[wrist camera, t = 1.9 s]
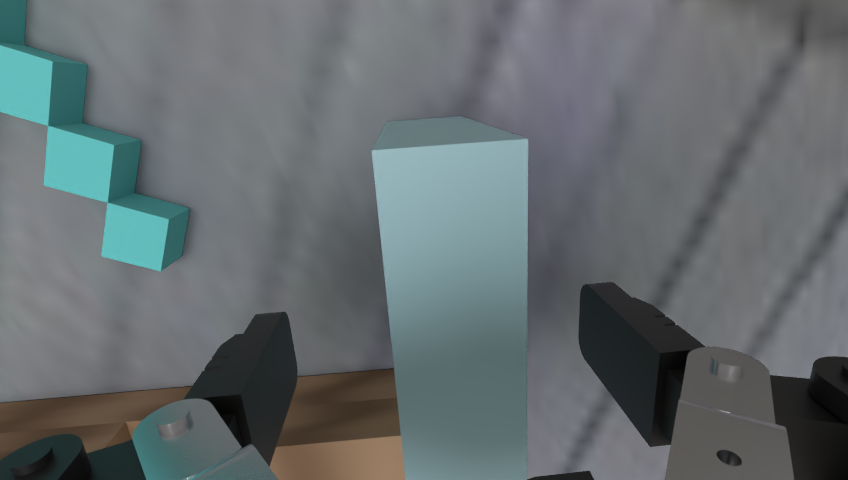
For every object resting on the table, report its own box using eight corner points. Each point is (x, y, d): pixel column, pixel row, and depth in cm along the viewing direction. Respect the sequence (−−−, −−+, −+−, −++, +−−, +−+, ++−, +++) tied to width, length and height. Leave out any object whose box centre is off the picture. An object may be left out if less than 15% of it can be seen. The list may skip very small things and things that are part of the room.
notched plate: (461, 116, 18) (527, 138, 9) (469, 334, 21) (526, 529, 12) (386, 121, 18) (371, 150, 8) (406, 339, 21) (411, 540, 12)
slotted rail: (409, 367, 22) (411, 434, 17) (413, 418, 22) (416, 494, 18) (-16, 404, 21) (-122, 483, 17) (7, 455, 22) (-88, 542, 18)
